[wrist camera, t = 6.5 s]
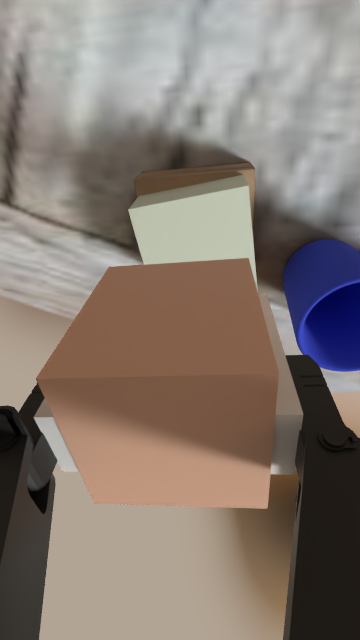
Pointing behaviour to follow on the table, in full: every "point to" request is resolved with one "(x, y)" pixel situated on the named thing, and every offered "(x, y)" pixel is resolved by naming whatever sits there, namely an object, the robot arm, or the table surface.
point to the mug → (326, 303)
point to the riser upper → (195, 223)
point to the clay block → (169, 387)
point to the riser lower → (194, 178)
